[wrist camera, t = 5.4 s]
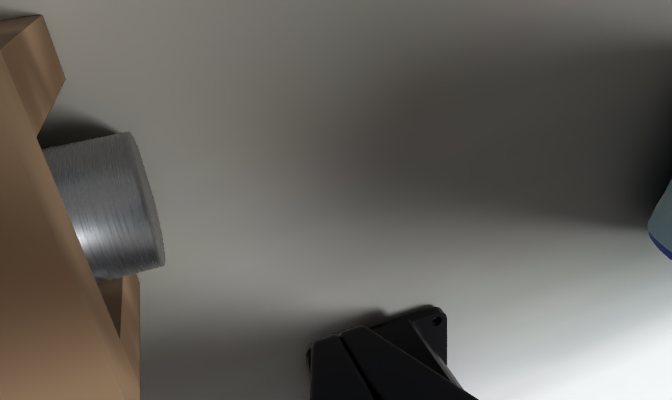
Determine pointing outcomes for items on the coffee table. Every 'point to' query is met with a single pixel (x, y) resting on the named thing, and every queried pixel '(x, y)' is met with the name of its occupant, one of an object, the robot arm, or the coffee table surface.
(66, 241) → the tunnel block
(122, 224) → the axle
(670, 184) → the lunch box
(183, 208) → the coffee table surface
